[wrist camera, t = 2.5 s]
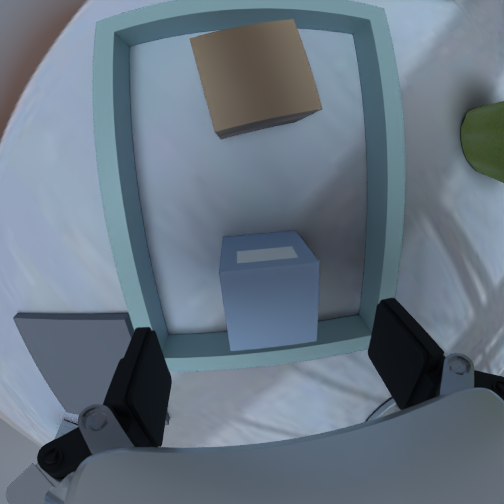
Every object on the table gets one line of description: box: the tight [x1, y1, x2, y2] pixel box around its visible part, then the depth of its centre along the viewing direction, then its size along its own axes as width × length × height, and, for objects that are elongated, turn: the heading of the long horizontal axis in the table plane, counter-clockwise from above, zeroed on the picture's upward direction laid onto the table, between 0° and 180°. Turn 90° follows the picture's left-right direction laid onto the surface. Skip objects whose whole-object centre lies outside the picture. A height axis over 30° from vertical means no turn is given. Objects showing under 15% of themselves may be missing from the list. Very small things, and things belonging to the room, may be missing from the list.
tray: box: [93, 0, 405, 372], centre depth 17 cm, size 19×25×3 cm
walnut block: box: [190, 19, 322, 139], centre depth 13 cm, size 5×5×6 cm
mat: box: [13, 313, 170, 425], centre depth 22 cm, size 14×14×1 cm
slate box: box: [219, 231, 319, 351], centre depth 17 cm, size 5×5×6 cm
